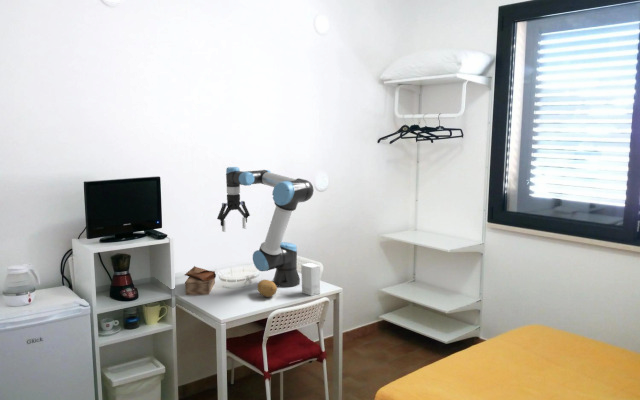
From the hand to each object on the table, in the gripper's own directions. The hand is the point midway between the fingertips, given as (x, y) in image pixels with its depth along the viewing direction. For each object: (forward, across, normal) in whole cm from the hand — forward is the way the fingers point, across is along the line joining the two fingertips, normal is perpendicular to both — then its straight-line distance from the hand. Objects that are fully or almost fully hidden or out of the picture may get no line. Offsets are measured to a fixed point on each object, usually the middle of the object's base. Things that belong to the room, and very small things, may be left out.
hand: (234, 230), depth 291 cm
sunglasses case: (+21, +27, +8) cm, 35 cm away
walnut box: (+28, +26, +8) cm, 39 cm away
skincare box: (+29, -16, +51) cm, 61 cm away
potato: (+28, +4, +40) cm, 49 cm away
